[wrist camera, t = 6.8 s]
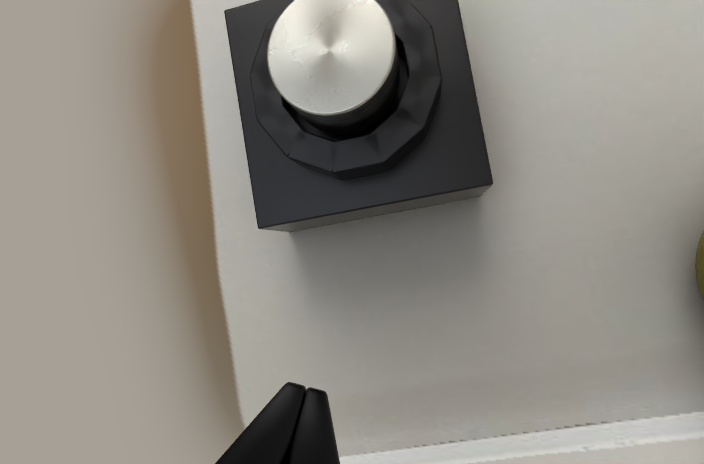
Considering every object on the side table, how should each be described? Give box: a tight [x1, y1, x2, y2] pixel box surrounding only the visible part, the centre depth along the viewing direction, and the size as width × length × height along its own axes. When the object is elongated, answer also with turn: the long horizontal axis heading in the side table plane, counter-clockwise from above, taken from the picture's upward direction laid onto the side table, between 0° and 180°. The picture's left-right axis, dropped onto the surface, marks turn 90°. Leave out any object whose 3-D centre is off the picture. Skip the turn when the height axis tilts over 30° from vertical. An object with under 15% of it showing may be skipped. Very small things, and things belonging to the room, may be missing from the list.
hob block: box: [224, 0, 493, 232], centre depth 19 cm, size 10×10×6 cm
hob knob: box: [267, 0, 400, 134], centre depth 16 cm, size 4×4×3 cm
